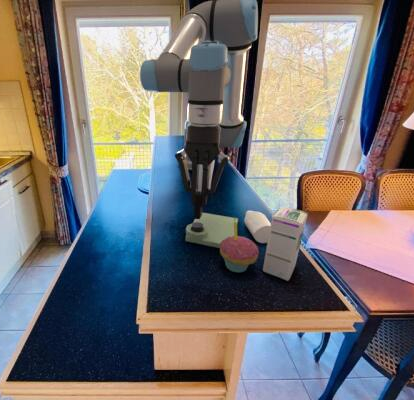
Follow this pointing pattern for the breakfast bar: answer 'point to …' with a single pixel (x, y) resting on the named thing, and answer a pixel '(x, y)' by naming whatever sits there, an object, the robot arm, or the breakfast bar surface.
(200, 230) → the button
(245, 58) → the robot arm
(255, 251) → the cupcake
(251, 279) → the breakfast bar surface
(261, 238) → the roll
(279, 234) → the syrup box
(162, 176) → the breakfast bar surface
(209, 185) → the drinking glass
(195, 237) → the scale
